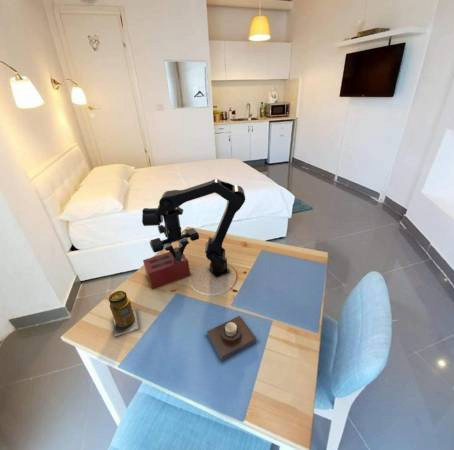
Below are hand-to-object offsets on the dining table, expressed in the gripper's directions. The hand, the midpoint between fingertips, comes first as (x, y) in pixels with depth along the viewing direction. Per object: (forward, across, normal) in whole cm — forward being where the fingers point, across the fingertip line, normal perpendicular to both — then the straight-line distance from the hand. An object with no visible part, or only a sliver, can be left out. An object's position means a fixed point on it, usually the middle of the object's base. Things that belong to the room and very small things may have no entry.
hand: (177, 256), depth 104 cm
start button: (+5, -3, +40) cm, 40 cm away
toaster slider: (0, 0, 0) cm, 0 cm away
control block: (+8, -3, +40) cm, 41 cm away
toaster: (+8, +5, -1) cm, 10 cm away
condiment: (+9, +25, +16) cm, 31 cm away
